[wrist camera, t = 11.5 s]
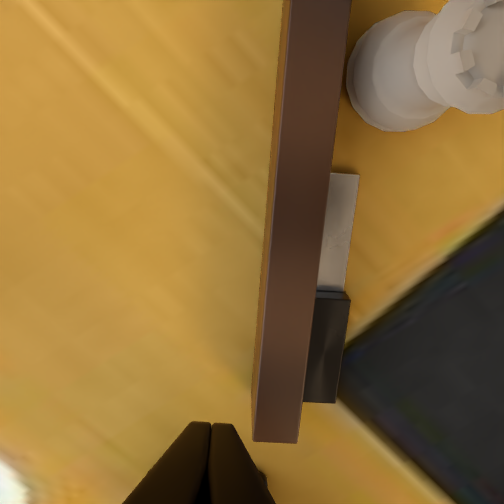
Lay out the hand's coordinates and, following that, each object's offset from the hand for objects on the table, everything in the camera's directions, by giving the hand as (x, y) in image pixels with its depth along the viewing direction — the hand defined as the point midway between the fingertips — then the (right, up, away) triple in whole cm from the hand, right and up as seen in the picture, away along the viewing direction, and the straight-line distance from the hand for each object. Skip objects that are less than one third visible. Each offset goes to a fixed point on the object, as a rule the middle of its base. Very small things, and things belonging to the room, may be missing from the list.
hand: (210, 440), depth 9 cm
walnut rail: (+2, +6, +11) cm, 12 cm away
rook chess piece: (+7, +11, +9) cm, 16 cm away
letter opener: (+4, +2, +12) cm, 13 cm away
